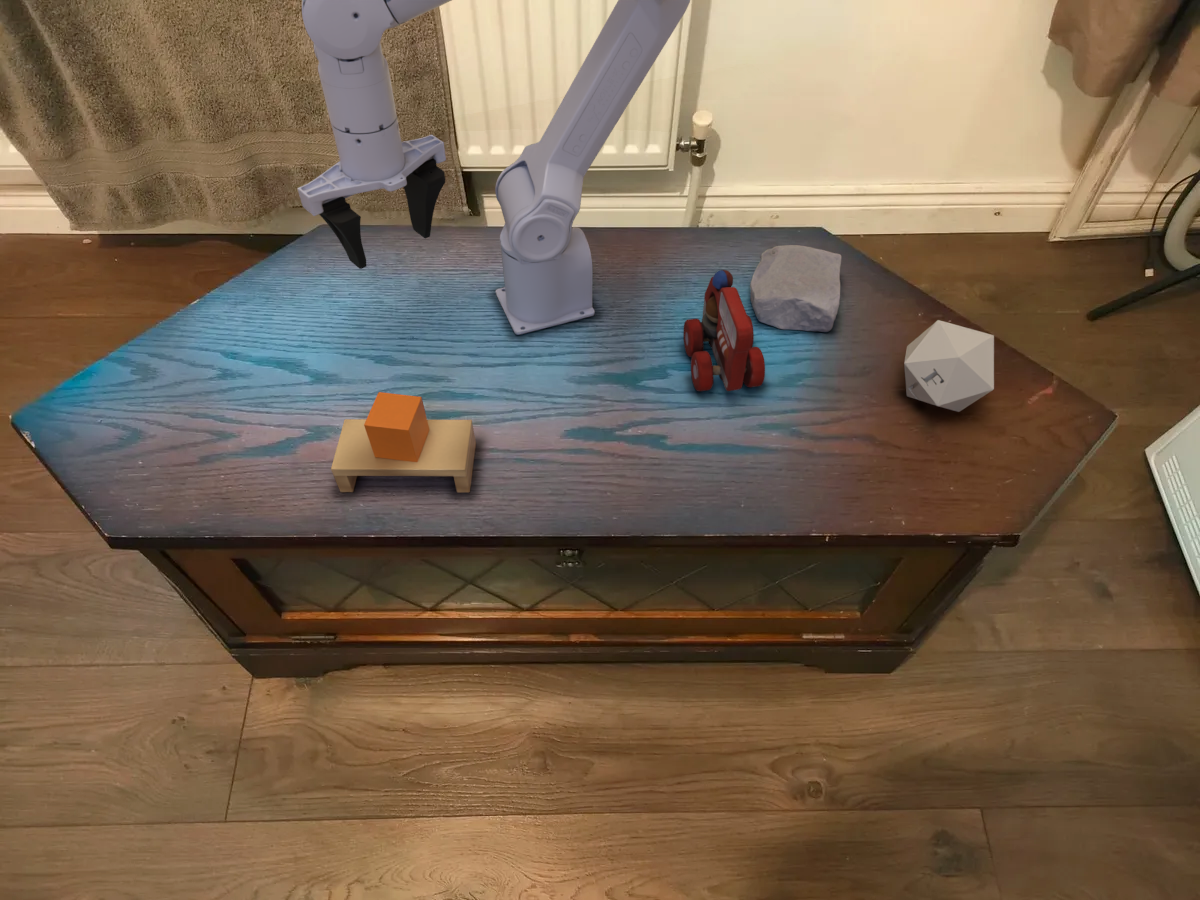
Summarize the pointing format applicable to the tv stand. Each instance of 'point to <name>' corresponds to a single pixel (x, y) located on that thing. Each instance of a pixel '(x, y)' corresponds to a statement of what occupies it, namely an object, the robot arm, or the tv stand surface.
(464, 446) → the shelf
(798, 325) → the stone block
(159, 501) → the tv stand surface
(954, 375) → the die
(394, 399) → the orange cube
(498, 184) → the robot arm
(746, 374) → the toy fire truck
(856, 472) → the tv stand surface
